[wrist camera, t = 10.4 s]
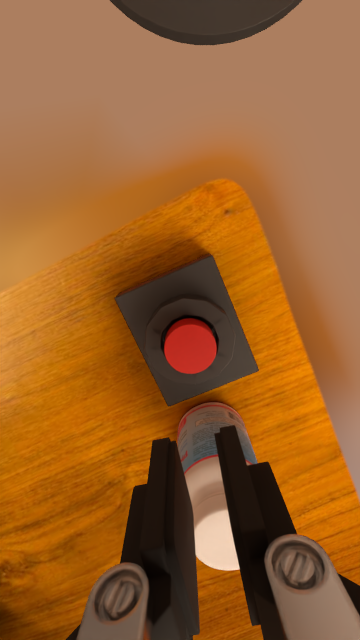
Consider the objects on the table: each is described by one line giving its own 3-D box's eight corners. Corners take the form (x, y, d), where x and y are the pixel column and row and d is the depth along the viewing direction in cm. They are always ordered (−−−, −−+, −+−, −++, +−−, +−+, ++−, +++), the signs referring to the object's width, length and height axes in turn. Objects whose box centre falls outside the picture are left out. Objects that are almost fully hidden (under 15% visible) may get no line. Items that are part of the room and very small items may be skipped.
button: (157, 329, 24) (155, 336, 22) (202, 310, 23) (204, 316, 22) (176, 371, 24) (176, 381, 23) (221, 353, 24) (224, 362, 22)
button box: (119, 292, 27) (109, 302, 23) (209, 252, 26) (214, 256, 22) (168, 394, 29) (167, 419, 25) (253, 360, 28) (265, 381, 24)
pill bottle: (168, 411, 29) (162, 515, 19) (233, 391, 29) (266, 485, 18) (190, 465, 31) (196, 591, 20) (251, 446, 30) (292, 565, 20)
